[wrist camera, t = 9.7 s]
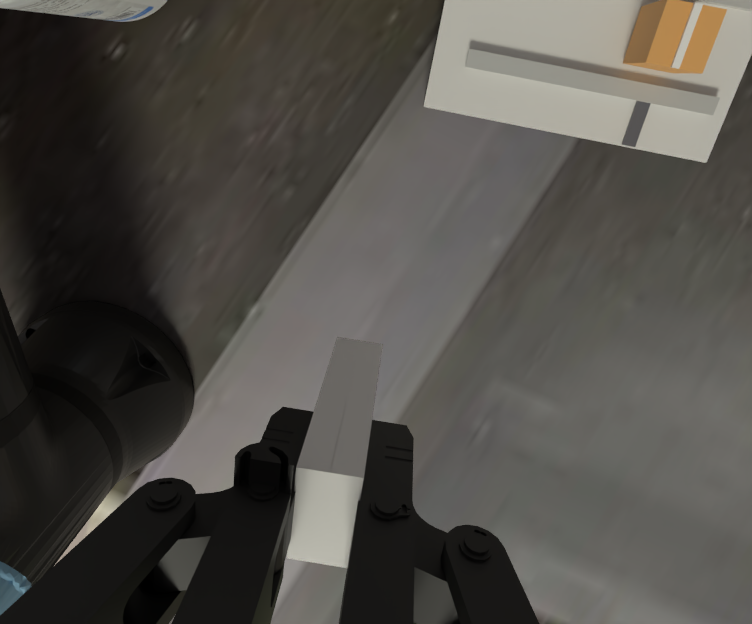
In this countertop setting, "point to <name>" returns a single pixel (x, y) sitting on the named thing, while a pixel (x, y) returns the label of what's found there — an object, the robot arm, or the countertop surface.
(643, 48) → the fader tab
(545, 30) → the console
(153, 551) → the robot arm
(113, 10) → the supplement tub
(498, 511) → the countertop surface
